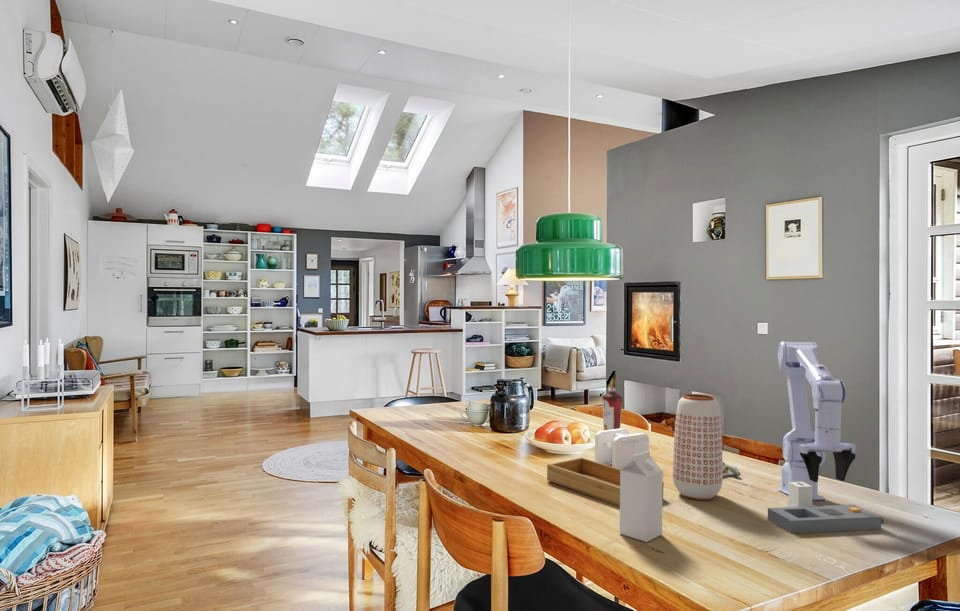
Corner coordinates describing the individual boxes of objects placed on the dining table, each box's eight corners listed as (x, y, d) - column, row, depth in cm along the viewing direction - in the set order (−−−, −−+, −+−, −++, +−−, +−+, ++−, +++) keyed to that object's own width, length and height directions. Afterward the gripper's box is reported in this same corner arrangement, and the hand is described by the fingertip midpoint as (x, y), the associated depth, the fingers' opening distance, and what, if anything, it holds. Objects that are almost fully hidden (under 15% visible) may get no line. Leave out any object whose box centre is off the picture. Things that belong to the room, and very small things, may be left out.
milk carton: (619, 534, 142) (620, 453, 142) (635, 526, 147) (636, 448, 147) (646, 543, 137) (647, 459, 137) (662, 534, 142) (663, 453, 142)
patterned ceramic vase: (699, 486, 180) (700, 391, 180) (733, 500, 168) (734, 398, 168) (662, 490, 176) (663, 393, 175) (694, 505, 163) (695, 400, 163)
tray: (663, 500, 168) (663, 480, 168) (628, 511, 159) (628, 489, 159) (581, 474, 193) (581, 457, 193) (546, 483, 183) (547, 464, 183)
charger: (788, 508, 162) (788, 482, 162) (801, 507, 162) (802, 481, 162) (798, 513, 158) (798, 486, 158) (812, 513, 158) (812, 486, 158)
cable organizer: (626, 460, 209) (627, 427, 209) (650, 468, 200) (650, 433, 200) (594, 466, 202) (594, 431, 202) (616, 474, 193) (617, 437, 192)
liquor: (597, 445, 231) (598, 372, 231) (612, 443, 235) (613, 371, 235) (610, 449, 225) (611, 374, 225) (625, 447, 228) (626, 373, 228)
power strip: (791, 533, 144) (791, 518, 144) (767, 519, 153) (767, 505, 153) (897, 528, 148) (898, 513, 148) (868, 515, 157) (869, 501, 157)
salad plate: (756, 476, 193) (757, 462, 193) (716, 483, 185) (716, 468, 185) (709, 462, 210) (709, 448, 210) (670, 467, 202) (670, 454, 202)
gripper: (813, 431, 149) (812, 486, 150) (865, 429, 152) (864, 484, 152) (794, 425, 156) (793, 477, 157) (844, 424, 159) (843, 475, 159)
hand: (827, 480), depth 155 cm, fingers open, 7 cm apart
